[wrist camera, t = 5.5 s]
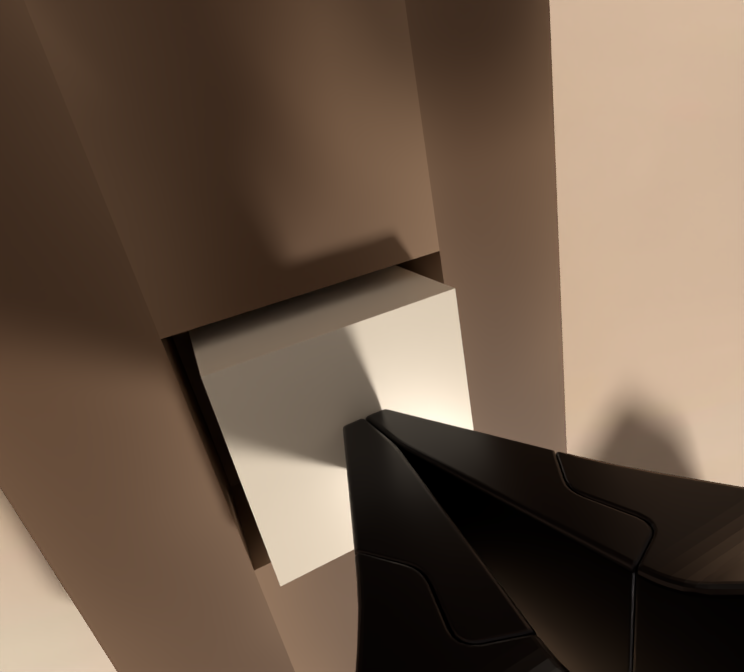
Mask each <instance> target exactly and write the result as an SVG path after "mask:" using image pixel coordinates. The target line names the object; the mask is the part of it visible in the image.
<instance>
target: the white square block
mask: <svg viewBox="0 0 744 672" xmlns="http://www.w3.org/2000/svg"><path fill="white" fill-rule="evenodd" d="M189 335H190V339H191V342H192V346H193V350H194V353H195V357H196V361H197V364H198V368H199V372H200V376H201V379H202V381H203V384H204V387H205V389H206V392H207V394H208V397H209V400H210V402H211V405H212V408H213V410H214V413H215V415H216V418H217V421H218V423H219V426H220V429H221V431H222V434H223V437H224V439H225V442H226V444H227V447H228V450H229V452H230V455H231V458H232V460H233V463H234V465H235V468H236V471H237V473H238V476H239V479H240V481H241V484H242V487H243V489H244V492H245V494H246V497H247V500H248V502H249V505H250V508H251V510H252V513H253V515H254V518H255V521H256V523H257V526H258V529H259V531H260V534H261V536H262V539H263V542H264V544H265V547H266V550H267V552H268V555H269V558H270V560H271V563H272V565H273V568H274V571H275V573H276V576H277V579H278V581H279V584H280V586H283V585H285V584H286V583H288V582H290V581H292V580H294V579H296V578H298V577H300V576H302V575H304V574H306V573H308V572H310V571H312V570H314V569H316V568H318V567H320V566H322V565H324V564H326V563H328V562H330V561H332V560H334V559H336V558H338V557H340V556H342V555H344V554H346V553H348V552H350V551H352V550H354V543H353V533H352V522H351V512H350V501H349V491H348V480H347V470H346V459H345V449H344V438H343V427H344V426H345V425H347V424H350V423H352V422H354V421H357V420H359V419H366V417H367V416H369V415H371V414H373V413H376V412H378V411H381V410H383V409H388V410H392V411H396V412H401V413H405V414H409V415H413V416H417V417H421V418H425V419H429V420H433V421H437V422H441V423H445V424H449V425H453V426H457V427H461V428H465V429H469V430H474V429H473V422H472V414H471V406H470V398H469V391H468V383H467V375H466V368H465V360H464V352H463V345H462V337H461V329H460V321H459V314H458V306H457V298H456V291H455V288H453V287H450V286H448V285H445V284H443V283H440V282H437V281H435V280H432V279H430V278H427V277H425V276H422V275H419V274H417V273H414V272H412V271H409V270H406V269H404V268H401V267H399V266H396V265H393V266H390V267H387V268H384V269H381V270H378V271H374V272H371V273H368V274H365V275H362V276H359V277H356V278H352V279H349V280H346V281H343V282H340V283H337V284H333V285H330V286H327V287H324V288H321V289H318V290H315V291H311V292H308V293H305V294H302V295H299V296H296V297H293V298H289V299H286V300H283V301H280V302H277V303H274V304H270V305H267V306H264V307H261V308H258V309H255V310H252V311H248V312H245V313H242V314H239V315H236V316H233V317H229V318H226V319H223V320H220V321H217V322H214V323H211V324H207V325H204V326H201V327H198V328H195V329H192V330H189Z"/></svg>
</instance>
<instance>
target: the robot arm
mask: <svg viewBox="0 0 744 672" xmlns="http://www.w3.org/2000/svg"><path fill="white" fill-rule="evenodd" d="M343 438H344V449H345V459H346V470H347V480H348V491H349V501H350V512H351V522H352V533H353V543H354V554H355V568H356V578H357V598H358V628H357V655H356V670H355V672H744V487H739V486H733V485H727V484H721V483H715V482H710V481H704V480H698V479H692V478H686V477H680V476H675V475H669V474H663V473H657V472H652V471H646V470H641V469H636V468H630V467H625V466H620V465H615V464H610V463H606V462H601V461H597V460H593V459H588V458H584V457H579V456H575V455H571V454H567V453H563V452H557V453H555V451H554V450H551V449H547V448H542V447H538V446H534V445H530V444H526V443H522V442H518V441H514V440H510V439H506V438H502V437H498V436H494V435H490V434H486V433H482V432H478V431H474V430H469V429H465V428H461V427H457V426H453V425H449V424H445V423H441V422H437V421H433V420H429V419H425V418H421V417H417V416H413V415H409V414H405V413H401V412H396V411H392V410H388V409H383V410H381V411H378V412H376V413H373V414H371V415H369V416H367V417H366V419H359V420H357V421H354V422H352V423H350V424H347V425H345V426H344V427H343Z"/></svg>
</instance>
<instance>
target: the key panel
mask: <svg viewBox="0 0 744 672" xmlns="http://www.w3.org/2000/svg"><path fill="white" fill-rule="evenodd" d="M393 265H396V266H399V267H401V268H404V269H406V270H409V271H412V272H414V273H417V274H419V275H422V276H425V277H427V278H430V279H432V280H435V281H437V282H440V283H443V284H445V285H448V286H450V287H453V288H455V291H456V298H457V306H458V314H459V321H460V329H461V337H462V345H463V352H464V360H465V368H466V375H467V383H468V391H469V398H470V406H471V414H472V422H473V429H474V431H478V432H482V433H486V434H490V435H494V436H498V437H502V438H506V439H510V440H514V441H518V442H522V443H526V444H530V445H534V446H538V447H542V448H547V449H551V450H554V451H555V453H557V452H563V453H567V447H566V421H565V395H564V370H563V344H562V318H561V292H560V266H559V240H558V214H557V188H556V162H555V137H554V111H553V85H552V59H551V33H550V7H549V0H0V488H1V489H2V491H3V492H4V494H5V496H6V497H7V499H8V500H9V502H10V503H11V505H12V507H13V508H14V510H15V511H16V513H17V514H18V516H19V518H20V519H21V521H22V522H23V524H24V525H25V527H26V529H27V530H28V532H29V533H30V535H31V537H32V538H33V540H34V541H35V543H36V544H37V546H38V548H39V549H40V551H41V552H42V554H43V555H44V557H45V559H46V560H47V562H48V563H49V565H50V566H51V568H52V570H53V571H54V573H55V574H56V576H57V577H58V579H59V581H60V582H61V584H62V585H63V587H64V589H65V590H66V592H67V593H68V595H69V596H70V598H71V600H72V601H73V603H74V604H75V606H76V607H77V609H78V611H79V612H80V614H81V615H82V617H83V618H84V620H85V622H86V623H87V625H88V626H89V628H90V629H91V631H92V633H93V634H94V636H95V637H96V639H97V641H98V642H99V644H100V645H101V647H102V648H103V650H104V652H105V653H106V655H107V656H108V658H109V659H110V661H111V663H112V664H113V666H114V667H115V669H116V670H117V672H355V670H356V655H357V628H358V598H357V578H356V568H355V554H354V550H352V551H350V552H348V553H346V554H344V555H342V556H340V557H338V558H336V559H334V560H332V561H330V562H328V563H326V564H324V565H322V566H320V567H318V568H316V569H314V570H312V571H310V572H308V573H306V574H304V575H302V576H300V577H298V578H296V579H294V580H292V581H290V582H288V583H286V584H285V585H283V586H280V584H279V581H278V579H277V576H276V573H275V571H274V568H273V565H272V563H271V560H270V558H269V555H268V552H267V550H266V547H265V544H264V542H263V539H262V536H261V534H260V531H259V529H258V526H257V523H256V521H255V518H254V515H253V513H252V510H251V508H250V505H249V502H248V500H247V497H246V494H245V492H244V489H243V487H242V484H241V481H240V479H239V476H238V473H237V471H236V468H235V465H234V463H233V460H232V458H231V455H230V452H229V450H228V447H227V444H226V442H225V439H224V437H223V434H222V431H221V429H220V426H219V423H218V421H217V418H216V415H215V413H214V410H213V408H212V405H211V402H210V400H209V397H208V394H207V392H206V389H205V387H204V384H203V381H202V379H201V376H200V372H199V368H198V364H197V361H196V357H195V353H194V350H193V346H192V342H191V339H190V335H189V330H192V329H195V328H198V327H201V326H204V325H207V324H211V323H214V322H217V321H220V320H223V319H226V318H229V317H233V316H236V315H239V314H242V313H245V312H248V311H252V310H255V309H258V308H261V307H264V306H267V305H270V304H274V303H277V302H280V301H283V300H286V299H289V298H293V297H296V296H299V295H302V294H305V293H308V292H311V291H315V290H318V289H321V288H324V287H327V286H330V285H333V284H337V283H340V282H343V281H346V280H349V279H352V278H356V277H359V276H362V275H365V274H368V273H371V272H374V271H378V270H381V269H384V268H387V267H390V266H393Z"/></svg>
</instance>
